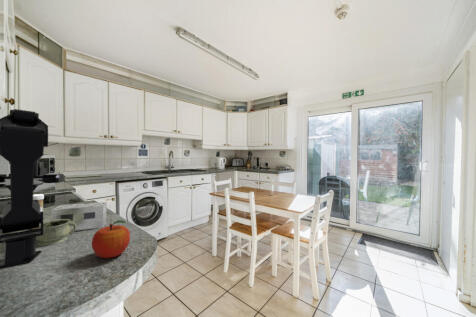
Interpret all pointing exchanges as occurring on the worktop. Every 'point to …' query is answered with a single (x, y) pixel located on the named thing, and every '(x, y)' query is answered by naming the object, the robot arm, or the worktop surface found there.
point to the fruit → (111, 240)
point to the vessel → (55, 231)
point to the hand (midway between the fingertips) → (23, 205)
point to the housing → (82, 215)
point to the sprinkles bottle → (39, 197)
